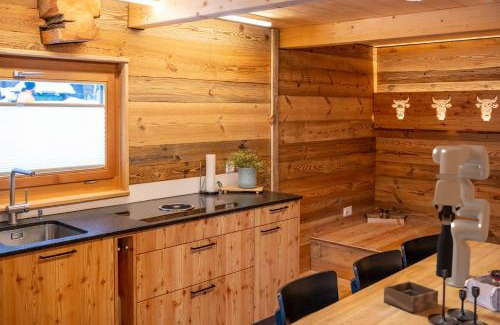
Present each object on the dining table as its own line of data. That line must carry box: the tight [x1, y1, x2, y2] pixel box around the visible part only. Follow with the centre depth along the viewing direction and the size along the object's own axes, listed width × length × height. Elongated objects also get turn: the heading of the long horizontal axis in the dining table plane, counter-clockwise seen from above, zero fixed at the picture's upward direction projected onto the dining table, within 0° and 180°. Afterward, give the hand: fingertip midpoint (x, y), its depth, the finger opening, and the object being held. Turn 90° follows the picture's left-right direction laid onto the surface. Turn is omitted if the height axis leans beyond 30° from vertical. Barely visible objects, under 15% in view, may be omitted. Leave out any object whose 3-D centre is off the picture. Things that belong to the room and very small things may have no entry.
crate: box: [383, 280, 439, 315], centre depth 250 cm, size 16×16×7 cm
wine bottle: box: [435, 205, 454, 279], centre depth 244 cm, size 6×6×30 cm
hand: (446, 220), depth 243 cm, fingers closed on wine bottle, 3 cm apart
